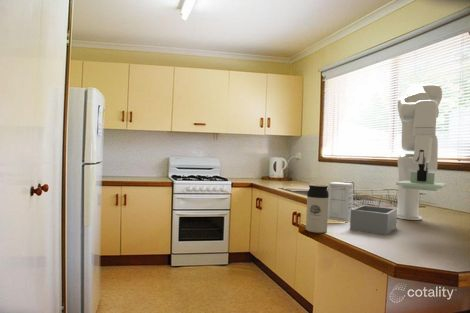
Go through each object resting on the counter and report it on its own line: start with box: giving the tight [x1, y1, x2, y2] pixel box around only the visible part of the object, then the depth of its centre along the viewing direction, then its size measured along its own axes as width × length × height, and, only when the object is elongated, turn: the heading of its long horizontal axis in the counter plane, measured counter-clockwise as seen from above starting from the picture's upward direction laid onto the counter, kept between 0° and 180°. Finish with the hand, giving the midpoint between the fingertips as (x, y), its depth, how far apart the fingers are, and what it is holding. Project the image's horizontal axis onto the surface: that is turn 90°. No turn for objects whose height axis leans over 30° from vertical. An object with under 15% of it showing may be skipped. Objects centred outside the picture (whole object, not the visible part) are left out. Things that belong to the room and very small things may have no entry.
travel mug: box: [305, 182, 329, 234], centre depth 144 cm, size 8×8×18 cm
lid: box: [395, 172, 448, 192], centre depth 144 cm, size 19×15×6 cm
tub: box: [349, 204, 398, 236], centre depth 154 cm, size 18×14×8 cm
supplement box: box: [327, 181, 354, 222], centre depth 174 cm, size 10×9×17 cm
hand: (422, 180), depth 144 cm, fingers closed on lid, 2 cm apart
